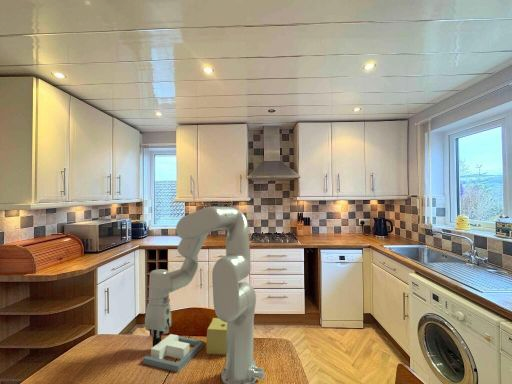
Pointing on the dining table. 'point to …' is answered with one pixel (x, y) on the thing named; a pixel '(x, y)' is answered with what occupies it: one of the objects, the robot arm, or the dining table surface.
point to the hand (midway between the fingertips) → (156, 346)
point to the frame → (182, 362)
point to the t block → (170, 348)
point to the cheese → (216, 337)
